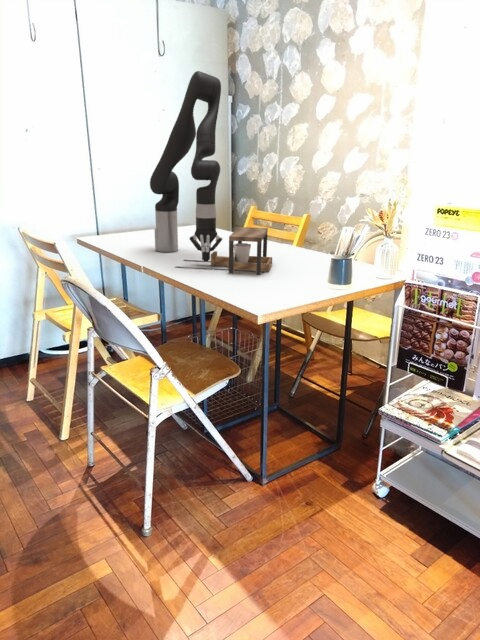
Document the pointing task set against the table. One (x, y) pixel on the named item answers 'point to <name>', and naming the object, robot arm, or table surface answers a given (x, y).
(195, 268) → the rails
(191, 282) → the table surface
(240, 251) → the cup
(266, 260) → the tray
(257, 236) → the small wooden stool
